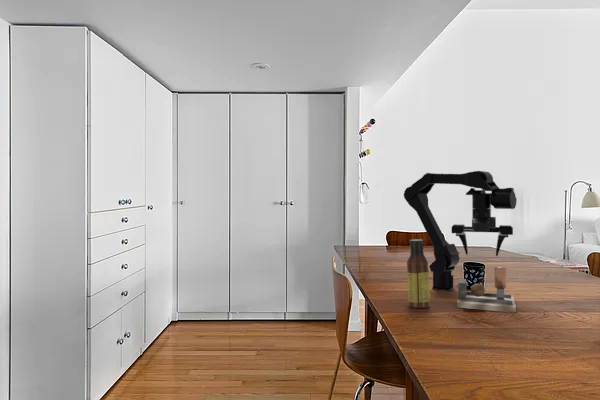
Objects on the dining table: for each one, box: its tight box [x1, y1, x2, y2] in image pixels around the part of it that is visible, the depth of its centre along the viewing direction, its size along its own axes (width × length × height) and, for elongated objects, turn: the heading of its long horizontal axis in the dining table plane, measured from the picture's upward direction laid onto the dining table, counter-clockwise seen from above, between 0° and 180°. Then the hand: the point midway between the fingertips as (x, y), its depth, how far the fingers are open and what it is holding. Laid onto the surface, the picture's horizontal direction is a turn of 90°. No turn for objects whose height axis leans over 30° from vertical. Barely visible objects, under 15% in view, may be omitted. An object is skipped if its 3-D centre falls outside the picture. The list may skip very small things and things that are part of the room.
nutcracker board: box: [456, 278, 517, 314], centre depth 135 cm, size 16×16×6 cm
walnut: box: [470, 283, 486, 297], centre depth 136 cm, size 4×4×4 cm
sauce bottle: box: [406, 238, 431, 309], centre depth 132 cm, size 6×6×20 cm
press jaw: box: [493, 266, 507, 300], centre depth 134 cm, size 3×6×10 cm, turn 157°
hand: (481, 255), depth 149 cm, fingers open, 9 cm apart
